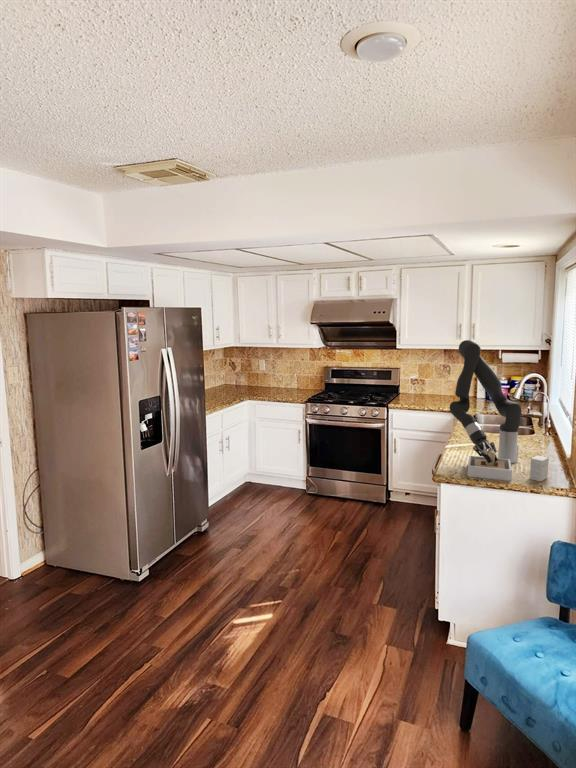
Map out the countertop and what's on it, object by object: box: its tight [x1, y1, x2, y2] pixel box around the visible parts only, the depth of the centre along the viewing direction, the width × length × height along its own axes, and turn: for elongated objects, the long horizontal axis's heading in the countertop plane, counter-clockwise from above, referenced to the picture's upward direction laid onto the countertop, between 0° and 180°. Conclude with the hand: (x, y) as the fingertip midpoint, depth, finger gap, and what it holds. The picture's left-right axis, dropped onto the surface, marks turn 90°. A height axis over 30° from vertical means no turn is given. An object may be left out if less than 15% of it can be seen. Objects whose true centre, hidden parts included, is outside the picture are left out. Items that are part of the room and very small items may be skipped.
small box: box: [529, 455, 549, 482], centre depth 253 cm, size 8×6×10 cm
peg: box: [486, 450, 496, 466], centre depth 262 cm, size 4×4×9 cm
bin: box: [466, 455, 513, 482], centre depth 262 cm, size 20×20×6 cm
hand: (493, 461), depth 260 cm, fingers closed on peg, 4 cm apart
